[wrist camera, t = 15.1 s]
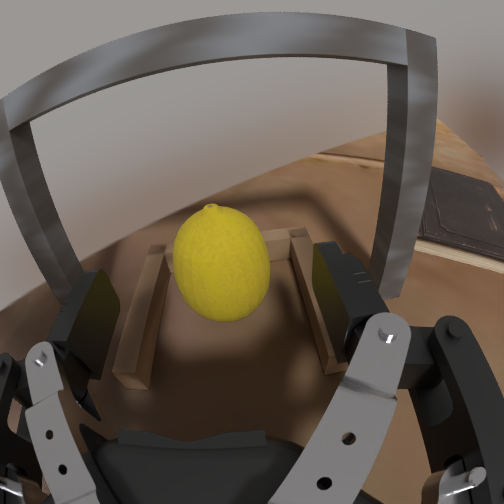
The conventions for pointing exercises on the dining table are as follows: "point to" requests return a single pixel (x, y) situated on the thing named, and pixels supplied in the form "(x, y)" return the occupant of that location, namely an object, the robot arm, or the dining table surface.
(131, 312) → the keeper pocket
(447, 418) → the robot arm
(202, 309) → the lemon
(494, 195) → the hardcover book
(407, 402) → the dining table surface
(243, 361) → the dining table surface
